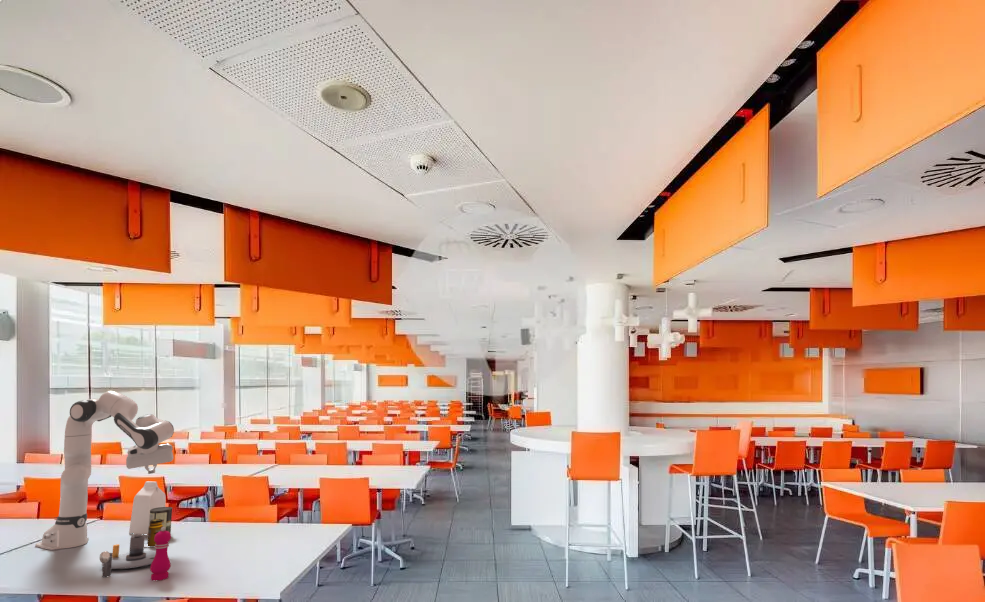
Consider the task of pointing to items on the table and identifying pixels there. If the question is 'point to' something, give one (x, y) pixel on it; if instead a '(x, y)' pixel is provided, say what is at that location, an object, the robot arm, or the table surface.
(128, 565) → the turntable
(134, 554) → the urn
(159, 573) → the pepper mill
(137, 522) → the milk
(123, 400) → the robot arm
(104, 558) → the grey bar with dome
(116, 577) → the table surface
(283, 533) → the table surface
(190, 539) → the table surface
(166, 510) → the coffee can
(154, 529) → the condiment
